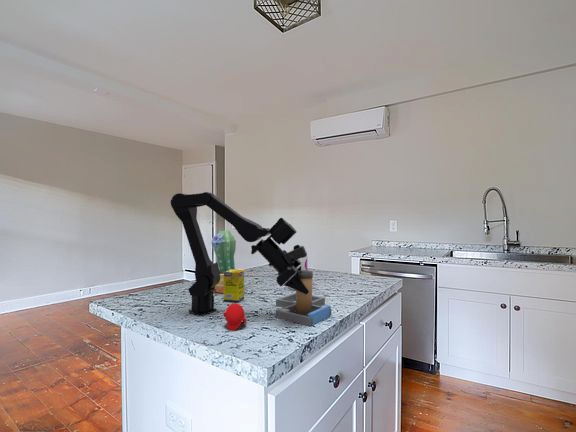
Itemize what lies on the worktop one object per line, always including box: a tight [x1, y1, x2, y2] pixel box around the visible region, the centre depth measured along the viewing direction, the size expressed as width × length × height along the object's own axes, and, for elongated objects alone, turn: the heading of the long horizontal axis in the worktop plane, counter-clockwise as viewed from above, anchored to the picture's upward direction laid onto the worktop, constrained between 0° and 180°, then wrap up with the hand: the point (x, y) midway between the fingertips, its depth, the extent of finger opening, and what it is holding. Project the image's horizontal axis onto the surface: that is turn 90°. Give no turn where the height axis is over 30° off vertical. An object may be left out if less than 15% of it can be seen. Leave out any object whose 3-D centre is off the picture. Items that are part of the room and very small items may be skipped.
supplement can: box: [288, 256, 308, 291], centre depth 136 cm, size 8×8×15 cm
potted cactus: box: [211, 230, 243, 294], centre depth 132 cm, size 15×15×25 cm
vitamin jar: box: [295, 269, 314, 316], centre depth 98 cm, size 5×5×13 cm
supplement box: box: [223, 269, 245, 304], centre depth 116 cm, size 6×6×11 cm
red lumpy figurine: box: [223, 302, 247, 332], centre depth 89 cm, size 8×6×6 cm
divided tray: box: [275, 292, 332, 327], centre depth 104 cm, size 22×20×3 cm
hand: (308, 291), depth 98 cm, fingers closed on vitamin jar, 5 cm apart
